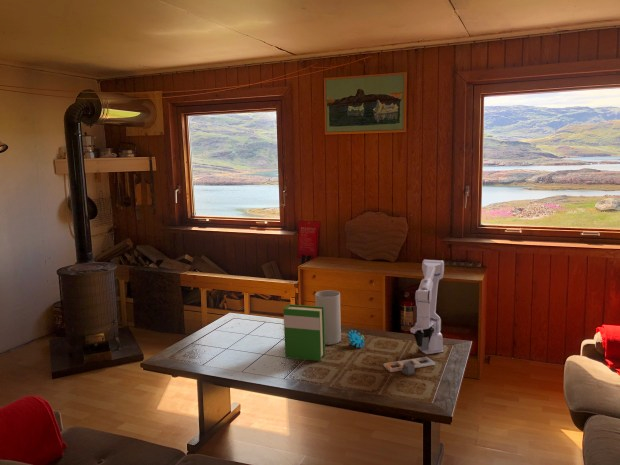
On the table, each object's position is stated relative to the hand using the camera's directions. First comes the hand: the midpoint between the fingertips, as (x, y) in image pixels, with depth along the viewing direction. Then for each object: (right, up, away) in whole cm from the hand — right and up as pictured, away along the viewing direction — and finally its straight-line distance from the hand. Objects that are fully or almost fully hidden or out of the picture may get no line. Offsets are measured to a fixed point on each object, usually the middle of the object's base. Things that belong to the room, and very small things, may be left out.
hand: (423, 344), depth 231 cm
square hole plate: (-6, -9, -1) cm, 11 cm away
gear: (-28, -6, +25) cm, 38 cm away
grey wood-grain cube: (-8, -11, -8) cm, 16 cm away
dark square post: (0, -2, 0) cm, 2 cm away
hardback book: (-53, -9, +14) cm, 56 cm away
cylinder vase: (-41, -5, +33) cm, 53 cm away
